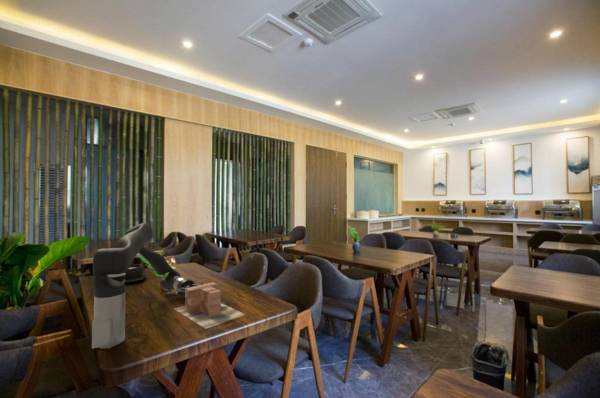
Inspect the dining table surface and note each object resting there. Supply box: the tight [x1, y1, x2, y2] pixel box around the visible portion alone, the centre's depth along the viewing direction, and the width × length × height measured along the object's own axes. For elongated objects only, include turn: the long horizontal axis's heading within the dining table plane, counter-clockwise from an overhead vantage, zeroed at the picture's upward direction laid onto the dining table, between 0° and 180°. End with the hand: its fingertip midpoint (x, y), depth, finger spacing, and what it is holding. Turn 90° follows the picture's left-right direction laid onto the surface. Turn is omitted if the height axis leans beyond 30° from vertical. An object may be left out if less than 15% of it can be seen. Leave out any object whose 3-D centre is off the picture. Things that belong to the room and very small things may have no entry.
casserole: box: [124, 263, 147, 283], centre depth 178 cm, size 25×19×8 cm
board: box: [174, 302, 246, 330], centre depth 126 cm, size 29×19×1 cm, turn 47°
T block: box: [184, 281, 222, 317], centre depth 127 cm, size 14×14×10 cm
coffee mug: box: [108, 273, 125, 284], centre depth 153 cm, size 12×9×10 cm
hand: (199, 292), depth 132 cm, fingers open, 8 cm apart
